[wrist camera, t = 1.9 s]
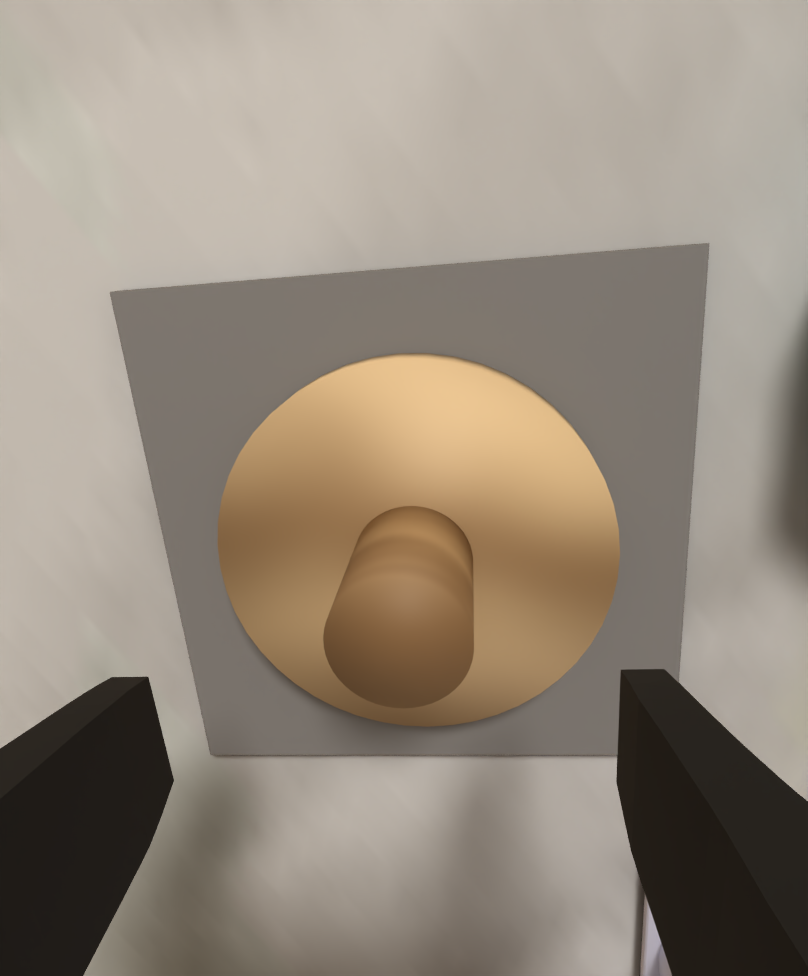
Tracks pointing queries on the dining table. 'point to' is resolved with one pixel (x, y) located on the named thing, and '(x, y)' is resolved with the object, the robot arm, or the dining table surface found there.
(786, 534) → the dining table surface
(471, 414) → the lid
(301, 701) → the mat
